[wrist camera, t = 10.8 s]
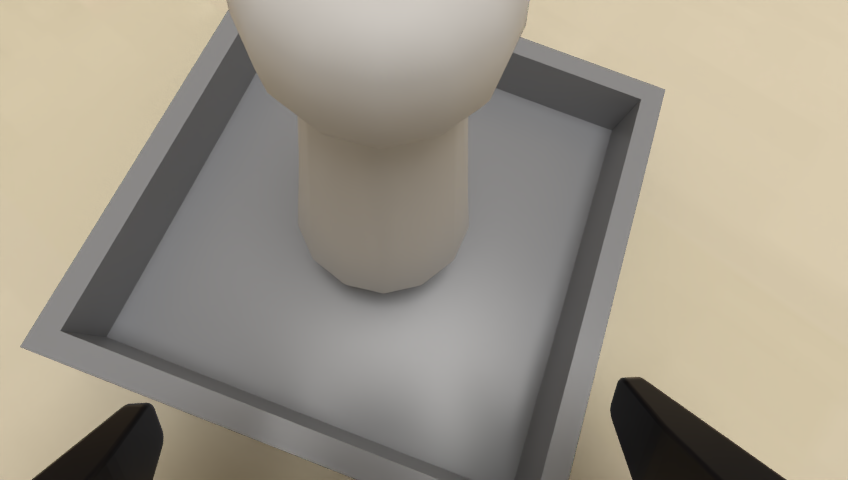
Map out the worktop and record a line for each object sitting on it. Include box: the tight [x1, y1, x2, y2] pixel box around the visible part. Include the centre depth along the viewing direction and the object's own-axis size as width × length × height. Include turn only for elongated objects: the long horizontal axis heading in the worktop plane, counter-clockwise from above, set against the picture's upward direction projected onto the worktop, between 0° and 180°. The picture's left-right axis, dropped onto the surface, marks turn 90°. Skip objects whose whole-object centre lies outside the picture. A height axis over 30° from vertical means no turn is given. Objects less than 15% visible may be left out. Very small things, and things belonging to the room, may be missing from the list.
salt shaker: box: [227, 0, 530, 294], centre depth 12 cm, size 6×6×13 cm
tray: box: [20, 10, 665, 480], centre depth 17 cm, size 17×17×3 cm
